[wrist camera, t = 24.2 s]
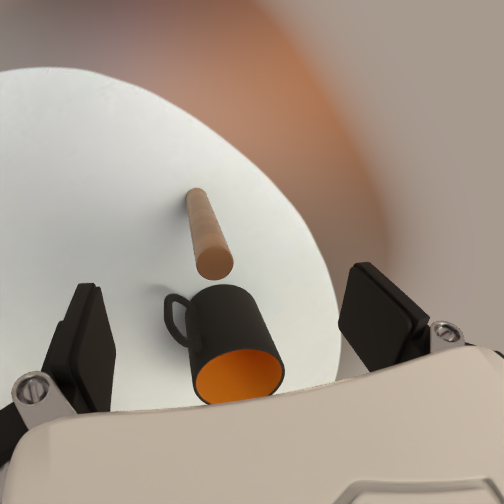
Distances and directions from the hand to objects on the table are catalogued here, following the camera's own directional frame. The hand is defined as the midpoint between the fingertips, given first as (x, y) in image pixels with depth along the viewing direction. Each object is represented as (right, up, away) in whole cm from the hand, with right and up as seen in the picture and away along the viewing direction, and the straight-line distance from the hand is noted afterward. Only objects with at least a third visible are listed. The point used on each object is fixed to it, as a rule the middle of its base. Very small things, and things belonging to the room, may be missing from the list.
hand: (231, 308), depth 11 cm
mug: (-4, -4, +23) cm, 24 cm away
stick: (-4, +7, +18) cm, 20 cm away
